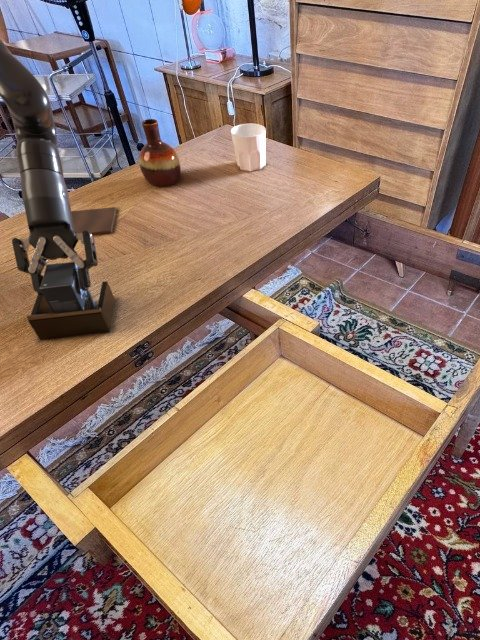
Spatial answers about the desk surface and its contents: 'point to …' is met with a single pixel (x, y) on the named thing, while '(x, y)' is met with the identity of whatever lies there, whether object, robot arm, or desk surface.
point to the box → (64, 288)
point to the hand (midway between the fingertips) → (63, 292)
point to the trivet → (94, 220)
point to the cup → (249, 146)
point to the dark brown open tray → (73, 318)
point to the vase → (158, 158)
